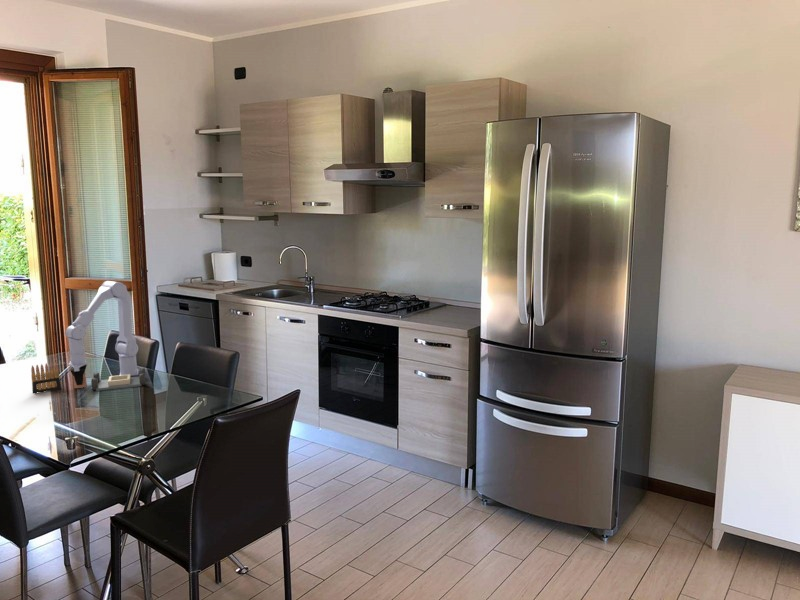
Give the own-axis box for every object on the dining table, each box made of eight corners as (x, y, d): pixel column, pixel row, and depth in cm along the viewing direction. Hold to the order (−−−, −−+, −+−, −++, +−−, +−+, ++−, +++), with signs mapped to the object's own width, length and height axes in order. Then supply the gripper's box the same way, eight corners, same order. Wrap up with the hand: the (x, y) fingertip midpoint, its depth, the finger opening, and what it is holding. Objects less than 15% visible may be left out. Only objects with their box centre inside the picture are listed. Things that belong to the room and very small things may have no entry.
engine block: (75, 385, 291) (74, 372, 290) (86, 384, 292) (85, 371, 291) (74, 388, 287) (73, 375, 286) (85, 387, 288) (84, 374, 287)
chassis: (95, 382, 295) (94, 371, 294) (145, 377, 302) (145, 366, 301) (92, 391, 282) (91, 380, 281) (145, 386, 289) (144, 374, 288)
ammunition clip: (33, 393, 281) (30, 366, 279) (32, 392, 282) (29, 365, 280) (61, 388, 287) (58, 361, 285) (60, 387, 288) (57, 361, 286)
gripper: (69, 350, 293) (72, 379, 295) (64, 357, 279) (67, 388, 281) (86, 348, 295) (89, 378, 297) (83, 356, 281) (86, 387, 284)
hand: (80, 383), depth 289 cm, fingers closed on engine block, 4 cm apart
